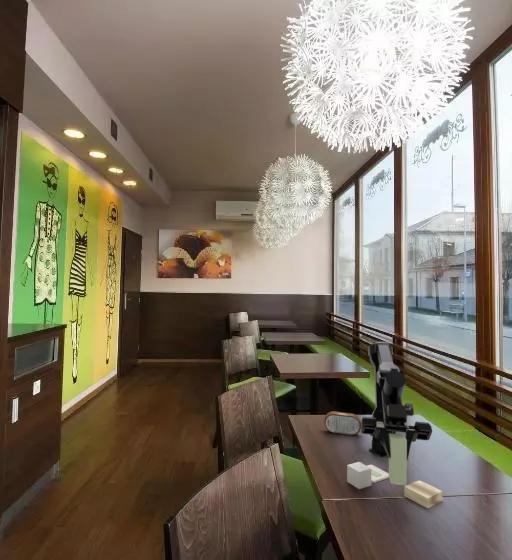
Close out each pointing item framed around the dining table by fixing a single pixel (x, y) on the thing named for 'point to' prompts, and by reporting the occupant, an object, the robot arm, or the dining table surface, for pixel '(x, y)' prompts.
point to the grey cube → (359, 475)
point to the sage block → (398, 459)
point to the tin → (342, 423)
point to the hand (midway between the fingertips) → (398, 458)
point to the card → (377, 474)
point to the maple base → (423, 494)
